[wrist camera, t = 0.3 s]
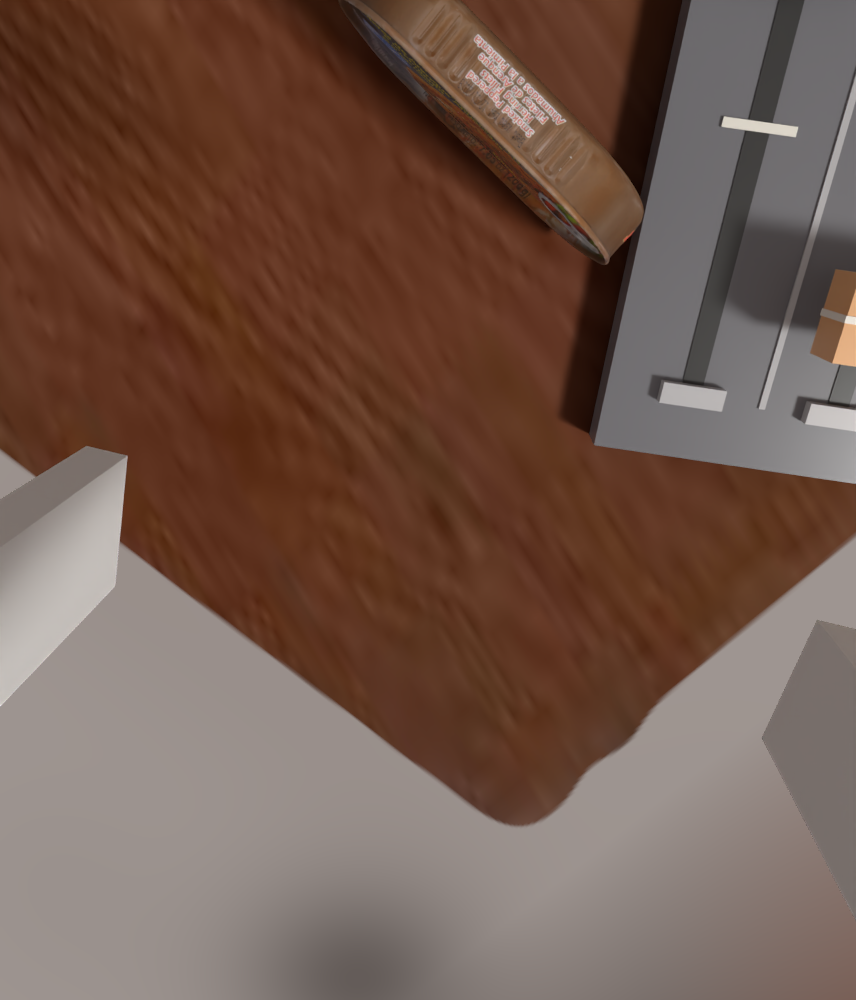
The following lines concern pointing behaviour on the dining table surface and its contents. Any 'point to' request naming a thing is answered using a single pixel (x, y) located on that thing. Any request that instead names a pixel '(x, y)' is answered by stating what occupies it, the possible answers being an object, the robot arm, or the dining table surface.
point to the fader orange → (838, 322)
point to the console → (742, 246)
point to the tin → (504, 117)
